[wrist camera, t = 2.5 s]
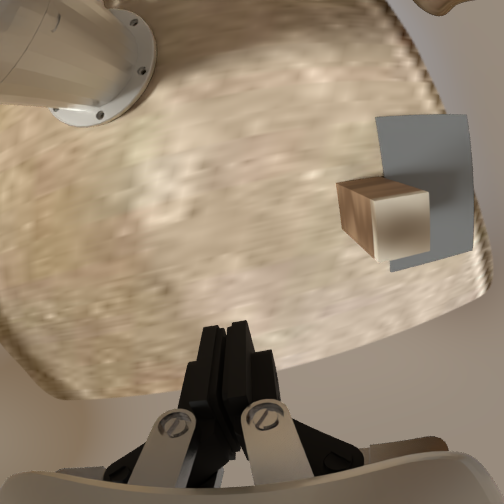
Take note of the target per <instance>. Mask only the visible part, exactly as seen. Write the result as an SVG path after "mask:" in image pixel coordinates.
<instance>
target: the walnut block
mask: <svg viewBox="0 0 504 504" xmlns="http://www.w3.org/2000/svg"><path fill="white" fill-rule="evenodd" d="M336 187H337V194H338V201H339V208H340V216H341V225H342V229H343V230H344V231H345V232H346V233H347V234H348V235H349V236H350V237H351V238H353V239H354V240H355V241H356V242H357V243H358V244H359V245H360V246H361V247H362V248H363V249H364V250H365V251H366V252H367V253H369V254H370V255H371V256H372V257H373V258H374V259H375V260H376V261H377V262H378V263H383V262H387V261H391V260H395V259H400V258H404V257H408V256H412V255H416V254H420V253H424V252H428V251H430V206H429V192H427V191H424V190H421V189H418V188H415V187H412V186H409V185H406V184H402V183H399V182H396V181H393V180H389V179H386V178H383V177H379V176H378V177H372V178H365V179H359V180H352V181H346V182H340V183H336Z"/></svg>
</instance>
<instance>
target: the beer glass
mask: <svg viewBox="0 0 504 504" xmlns="http://www.w3.org/2000/svg"><path fill="white" fill-rule="evenodd" d="M413 1H414V2H415V3H416V4H417V5H418V6H419V7H420V8H422V9H423V10H424V11H426V12H427V13H429V14H432V15H435V16H443V15H446V14H447V13H448V12H449V11H450V10H451V9H452V8H453V7H454V6H455V5H457V4H460V3H463V2H467V1H472V0H413Z"/></svg>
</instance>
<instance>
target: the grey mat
mask: <svg viewBox="0 0 504 504" xmlns="http://www.w3.org/2000/svg"><path fill="white" fill-rule="evenodd" d="M375 119H376V125H377V131H378V137H379V143H380V150H381V157H382V165H383V173H384V178H386V179H389V180H393V181H396V182H399V183H402V184H406V185H409V186H412V187H415V188H418V189H421V190H424V191H427V192H429V206H430V251H428V252H424V253H420V254H416V255H412V256H408V257H404V258H400V259H395V260H391V261H390V272H395V271H399V270H402V269H406V268H410V267H414V266H418V265H422V264H425V263H429V262H433V261H436V260H440V259H444V258H447V257H451V256H454V255H458V254H461V253H465V252H468V251H472V248H473V228H474V186H473V166H472V153H471V143H470V134H469V126H468V119H467V115H454V114H452V115H451V114H439V115H405V116H387V117H375Z"/></svg>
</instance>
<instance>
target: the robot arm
mask: <svg viewBox="0 0 504 504" xmlns="http://www.w3.org/2000/svg"><path fill="white" fill-rule="evenodd" d="M136 24H137V25H136ZM135 25H136V26H135ZM156 56H157V50H156V41H155V38H154V35H153V32H152V31H151V29H150V27H149V26H148V24H147V23H146V22H145V21H144V20H143V19H142V18H141V17H139V16H138V15H137V14H135V13H133V12H131V11H128V10H124V9H118V8H112V9H107V8H106V7H105V6H104V2H103V0H0V104H7V105H23V106H36V107H47V108H48V109H49V110H50V112H51V113H52V114H53V116H55V117H56V118H57V119H58V120H59V121H61V122H63V123H65V124H67V125H70V126H75V127H94V126H99V125H102V124H105V123H108V122H110V121H112V120H114V119H116V118H117V117H119V116H120V115H122V114H123V113H124V112H126V111H127V110H128V109H129V108H130V107H131V106H132V105H133V104H134V103H135V102H136V101H137V100H138V99H139V97H140V96H141V95H142V93H143V92H144V90H145V89H146V87H147V85H148V83H149V81H150V79H151V77H152V74H153V71H154V68H155V64H156ZM144 71H146V73H145V74H144V75H143V72H144ZM103 114H104V117H103V118H102V115H103ZM241 447H242V449H243V451H244V454H245V456H246V458H247V460H248V461H249V462H250V467H251V471H252V476H253V480H254V485H255V486H245V487H229V488H220V486H221V483H222V478H223V474H224V469H223V466H224V465H225V464H226V463H227V462H229V460H235V456H236V453H235V452H238V451H240V449H241ZM0 504H504V497H503V495H502V493H501V491H500V490H499V488H498V486H497V485H496V483H495V481H494V480H493V478H492V477H491V475H490V474H489V473H488V471H487V470H486V469H485V468H484V466H483V465H482V464H481V463H480V462H479V461H478V460H477V459H475V458H474V457H472V456H471V455H469V454H466V453H462V452H454V451H449V450H448V446H447V444H446V443H445V441H443V440H442V439H441V438H438V437H435V436H427V437H421V438H415V439H410V440H404V441H397V442H390V443H382V444H373V445H370V448H360V449H358V448H357V447H355V446H353V445H351V444H349V443H346V442H344V441H341V440H339V439H337V438H334V437H332V436H330V435H327V434H325V433H323V432H320V431H318V430H316V429H314V428H311V427H309V426H307V425H305V424H303V423H301V422H299V421H297V420H295V419H292V418H291V415H290V412H289V410H288V408H287V406H286V405H285V404H283V403H282V402H281V399H280V392H279V384H278V378H277V372H276V367H275V362H274V358H273V353H272V350H266V351H260V352H255V350H254V346H253V342H252V338H251V334H250V331H249V327H248V323H247V321H246V320H244V321H239V322H233V323H232V326H231V327H227V336H226V332H225V329H224V328H219V326H218V325H215V326H209V327H204V328H203V331H202V336H201V341H200V346H199V351H198V356H197V361H193V362H189V363H188V365H187V369H186V373H185V378H184V382H183V386H182V391H181V396H180V400H179V405H178V409H173V410H169V411H167V412H165V413H163V414H162V415H161V416H160V417H159V418H158V419H157V420H156V422H155V423H154V426H153V428H152V430H151V432H150V434H149V436H148V439H147V441H146V442H145V443H144V444H142V445H141V446H140V447H138V448H136V449H135V450H133V451H132V452H130V453H128V454H127V455H125V456H124V457H122V458H121V459H119V460H117V461H116V462H114V463H113V464H111V465H110V466H109V467H108V468H107V469H106V468H104V467H103V466H100V467H85V468H64V469H59V470H58V471H56V472H48V471H27V472H20V473H16V474H13V475H12V476H10V477H8V478H7V479H6V480H5V482H4V483H3V485H2V486H1V488H0Z"/></svg>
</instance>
